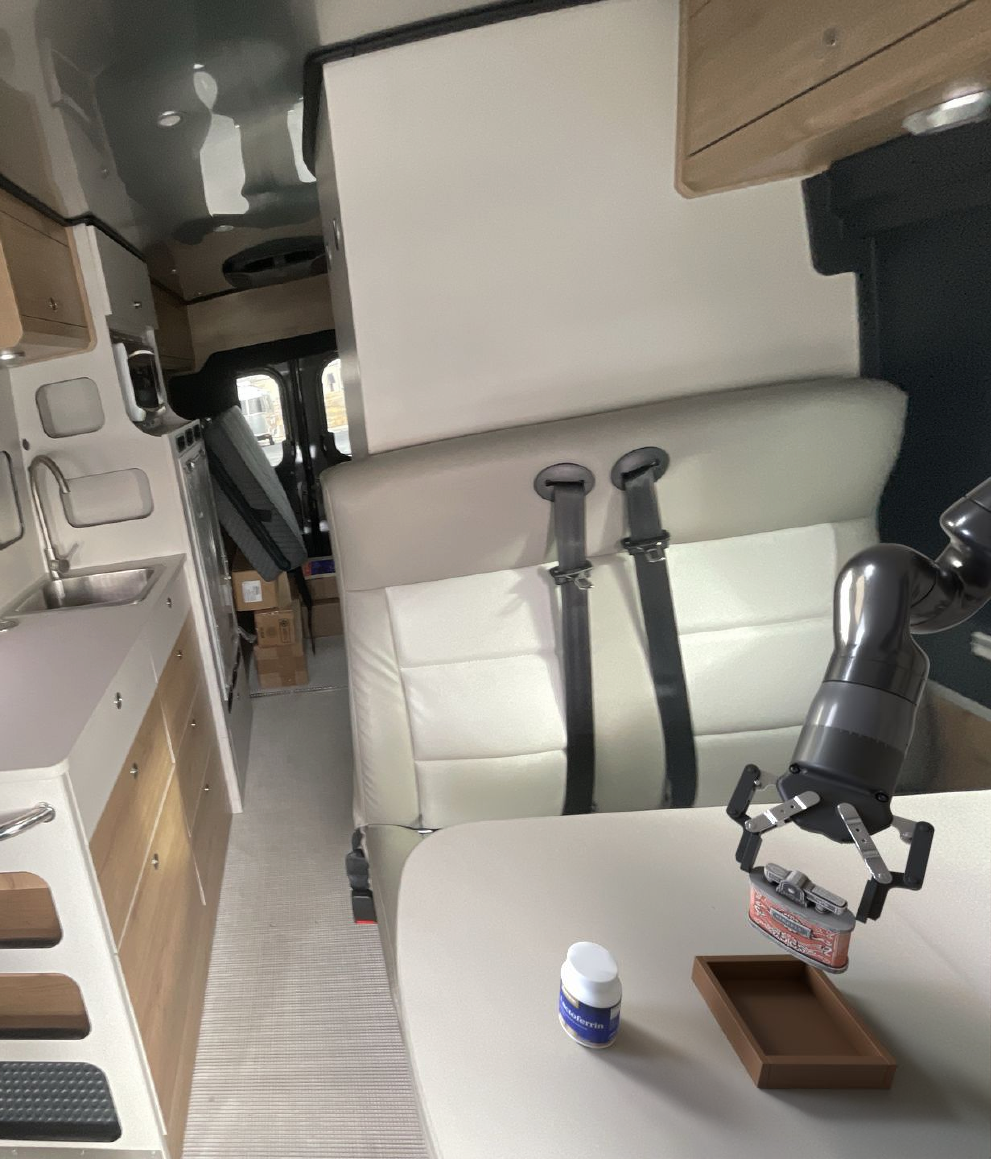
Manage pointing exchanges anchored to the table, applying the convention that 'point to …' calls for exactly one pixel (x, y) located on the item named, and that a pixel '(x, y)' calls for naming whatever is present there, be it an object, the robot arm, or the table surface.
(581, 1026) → the pill bottle
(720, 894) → the table surface
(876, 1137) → the table surface
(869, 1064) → the tray
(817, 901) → the lighter
